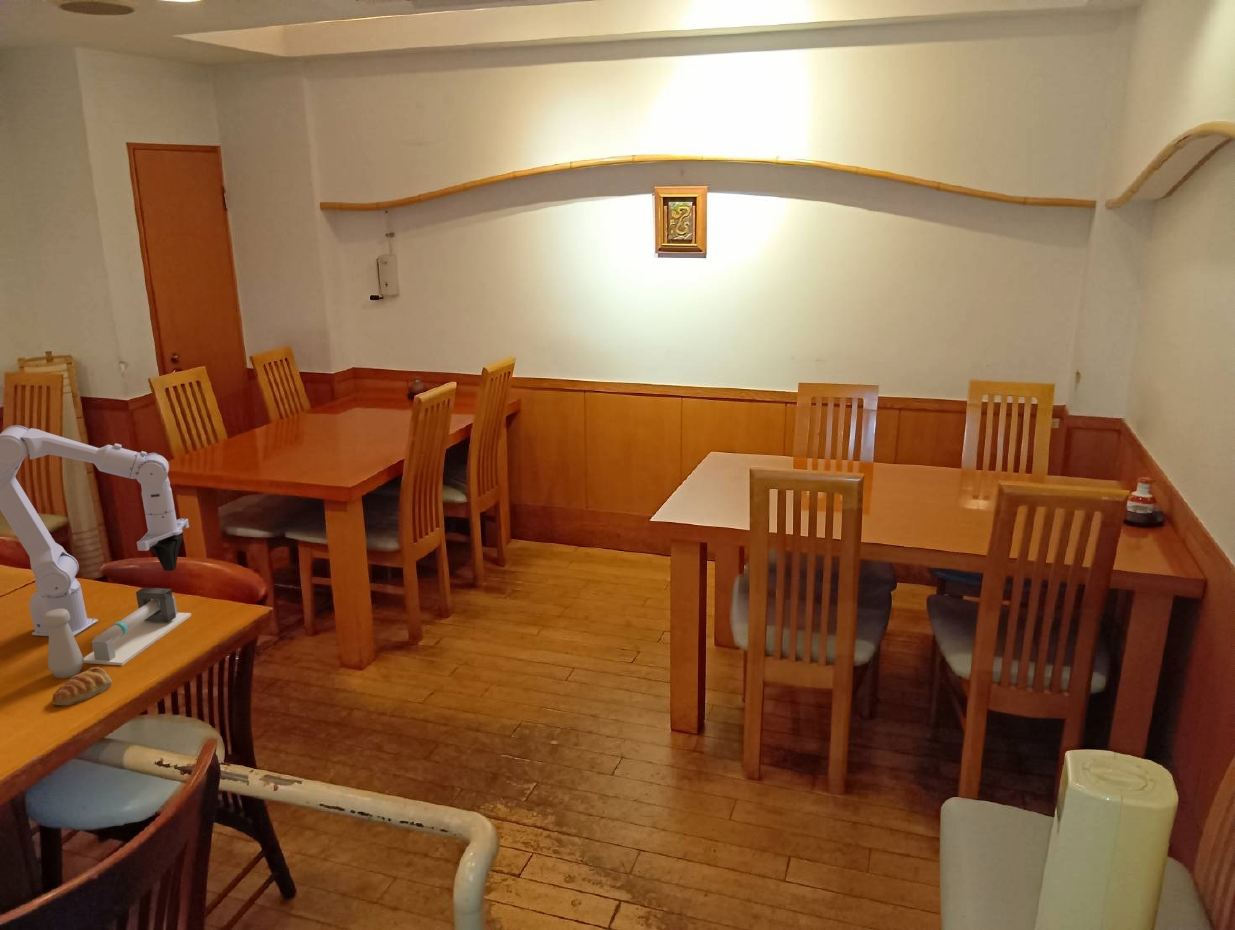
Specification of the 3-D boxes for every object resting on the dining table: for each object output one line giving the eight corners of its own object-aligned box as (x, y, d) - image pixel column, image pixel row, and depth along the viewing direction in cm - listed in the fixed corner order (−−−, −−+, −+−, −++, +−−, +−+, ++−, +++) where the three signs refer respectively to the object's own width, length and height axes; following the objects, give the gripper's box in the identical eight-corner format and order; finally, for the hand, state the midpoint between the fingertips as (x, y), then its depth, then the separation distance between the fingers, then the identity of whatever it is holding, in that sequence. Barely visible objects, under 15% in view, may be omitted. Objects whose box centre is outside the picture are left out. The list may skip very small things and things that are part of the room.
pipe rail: (122, 665, 170) (117, 638, 168) (81, 662, 171) (75, 635, 169) (191, 615, 190) (187, 590, 189) (154, 613, 192) (149, 588, 190)
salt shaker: (68, 682, 164) (55, 619, 160) (43, 679, 165) (29, 617, 161) (92, 666, 169) (80, 606, 166) (67, 664, 170) (54, 603, 167)
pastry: (69, 712, 154) (65, 692, 153) (43, 705, 157) (39, 686, 156) (116, 686, 163) (113, 667, 162) (91, 680, 165) (87, 661, 164)
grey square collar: (169, 622, 185) (164, 593, 183) (140, 620, 186) (135, 592, 184) (176, 617, 187) (171, 589, 185) (148, 615, 188) (143, 587, 186)
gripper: (154, 523, 178) (165, 583, 182) (197, 500, 192) (206, 557, 196) (123, 521, 180) (134, 582, 183) (168, 499, 193) (177, 556, 197)
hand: (169, 569), depth 190 cm, fingers closed
